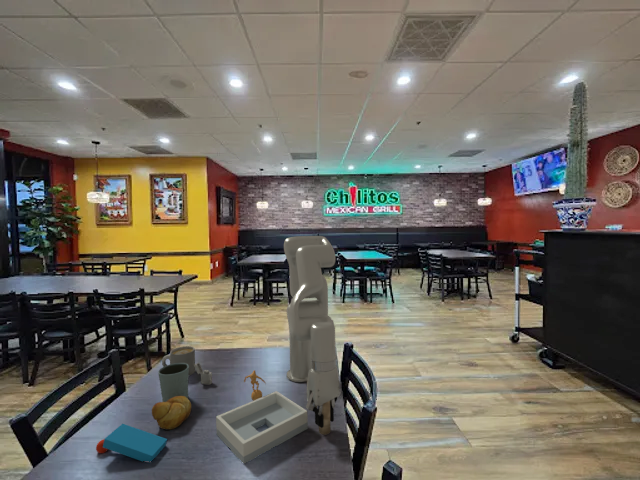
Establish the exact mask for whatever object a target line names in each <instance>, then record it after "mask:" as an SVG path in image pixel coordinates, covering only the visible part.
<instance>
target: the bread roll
mask: <svg viewBox="0 0 640 480" xmlns="http://www.w3.org/2000/svg"><path fill="white" fill-rule="evenodd" d="M191 412H192V403H191V401H190V400H189V397H188V398H186V397H185V396H176V397H173V398H171V399H169V400H168V401H166V402H162V401H159V402H156V403H155V404H154V405H153V406H152V408H151V415H152V418H153V419H154V420H155V421H156V423H157V425H158V427H159V428H160V429H162V430H174V429H176V428H178V427H179V426H181V425H182V424H183V422H185V421H186V420H187V419H188V418H189V416H190V414H191Z"/></svg>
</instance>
